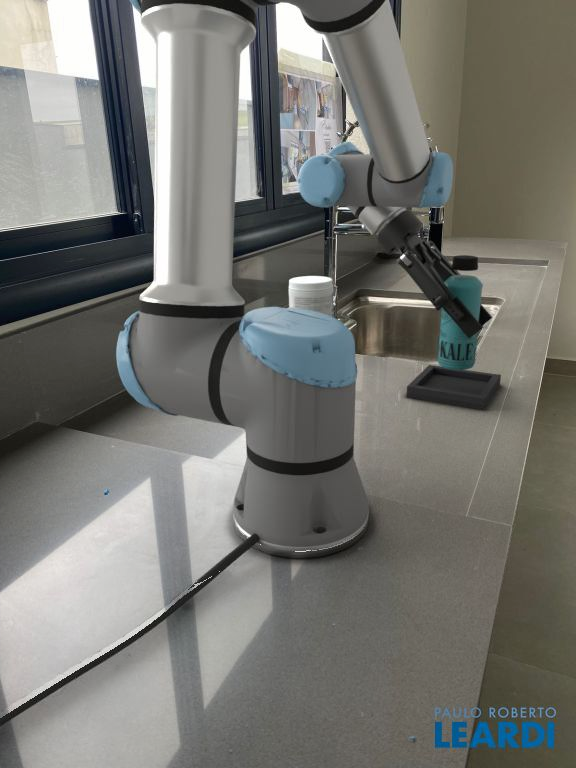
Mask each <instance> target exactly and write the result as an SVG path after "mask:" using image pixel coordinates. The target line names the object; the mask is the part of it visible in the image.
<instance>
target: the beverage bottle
mask: <svg viewBox="0 0 576 768" xmlns="http://www.w3.org/2000/svg"><path fill="white" fill-rule="evenodd" d="M451 264H452V269H453V270H457V271H458V272H472V271H477V270H478V269H479V257H478V256H475V255H468V254H467V255H466V254H459V255H454V256H453V257H452V263H451ZM444 283H445V285H446V286H447V288H448V289H449V291H450V292H451V294H452V295H453V297H454V298H455V297H458V299H459V300H460V301H461V302H462V303H463V304H464V306H465V307H466V308H467V309H468V310H469V311H470V313H471V314H472V315H473V316H474V317H475V318H476V320H477V321H478V322H479V313H480V303H481V302H482V293H483V287H484V283H482V281H481V280H480V279H479V278H478V277H477V276H474V275H468V274H461V275H453V276H451V277H449V278H448V279H447V280H446V281H445V282H444ZM454 298H453V299H454ZM453 299H452V300H453ZM481 304H482V303H481ZM439 317H440V325H439V326H440V328H439V330H438V335H439V336H438V343H437V344H438V347H437V354H436V355H437V356H436V359H437V363H438V366H441V367H444V368H448V369H455V370H469V369H472V368H474V367H475V364H476V362H477V353H478V352H477V347H478V344H479V343H478V338H479V331H478V332H477V333H476V334H474V335H473V336H472V337H471V338H468V337H467V336H466V335H465V333H464V332H463V331H462V330H461V329H460V328H459V326H458V325H457V324H456V323H455V322H454V321H453V319H452V318H451V317H450V316H449V315H448V314H447V312H446V311H445V310H444V309H443V308H441V309H440V316H439Z"/></svg>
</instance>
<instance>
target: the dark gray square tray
mask: <svg viewBox="0 0 576 768" xmlns="http://www.w3.org/2000/svg"><path fill="white" fill-rule="evenodd" d="M501 377H502V374H498V373H490V372H483V371H477V370H469V369H464V370H455V369H448V368H444V367H442V366H440V365H434V364H428V365H427V366H426V367H425V368H424V369H423V370H422V371H421V372H420V373H419V374H418V375H417V376H416V377H415V378H413V380H412V381H411V382H410V383H409V384H408V385H407V386H406V395H405V396H406V398H410V399H416V400H421V401H427V402H433V403H440V404H445V405H450V406H457V407H463V408H469V409H474V410H475V409H476V410H481V411H485V410H486V408H487V406H488V405H489V403H490V401H491V400H492V398H493V397H494V396H495V394H496V392H497V390H498V389H499V387H500V386H501V379H502V378H501Z"/></svg>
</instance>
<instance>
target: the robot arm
mask: <svg viewBox="0 0 576 768" xmlns="http://www.w3.org/2000/svg"><path fill="white" fill-rule="evenodd" d="M129 2H130V4H131V5H132V6H133V8H134V9H135V10H136V11H137V13H139V14H140V24H141V27H142V28H143V30H144V31H145V33H147V34H148V35H149V37H150V38H151V40H153V41H154V43H155V112H154V113H155V114H154V115H155V117H154V118H155V121H154V123H155V125H154V128H155V129H154V131H155V132H154V134H155V135H154V210H153V211H154V215H153V216H154V217H153V220H154V221H153V223H154V225H153V226H154V227H153V281H152V282H151V284H150V286H148V287H147V288H146V289H145V290H144V291H143V292H142V293H141V294H140V295H139V306H138V307H139V309H138V310H137V311H136V312H134V313H132V314H131V315H130V316H129V317H128V318H127V319H125V322H124V324H123V327H124V330H120V331H119V333H118V338H117V341H116V350H115V359H116V367H117V371H118V375H119V378H120V380H121V383H122V385H123V387H124V388H125V390H126V392H127V393H128V394H129V395H130V396H131V397H132V398H133V399H134V400H135V401H136V403H139V404H140V405H142V406H144V407H146V408H149V409H152V410H156V411H159V412H161V413H163V414H165V415H169V416H174V417H178V416H181V417H186V418H189V419H190V418H191V419H195V420H199V421H206V422H211V423H216V424H221V425H226V426H231V427H235V428H236V427H237V428H240V429H243V430H244V431H245V445H246V447H245V448H246V449H245V450H246V460H245V463H244V467H243V470H242V472H241V476H240V480H239V483H238V486H237V489H236V492H235V494H234V495H235V496H234V498H233V504H232V505H233V507H232V520H233V521H232V522H233V526H234V530H235V532H236V533H237V536H239V538H240V539H241V540H242V541H243V542H241V543H240V544H238V545H237V546H236V547H235V548H234V549H233V550H232V551H230V552H229V553H228V554H227V555H225V556H224V557H223V558H222V559H221V560H219V561H218V562H217V563H216V564H215V565H213V566H212V567H211V568H210V569H209V570H208V571H206V572H205V573H204V574H203V575H202V576H200V577H199V578H198V579H196V581H197V582H196V581H194V582H195V583H194V582H193V583H194V584H197V583H200V582H203V581H204V580H206V579H207V580H206V581H204V582H203V583H201V584H200V585H198V586H197V587H196V588H194V589H193V590H192V591H190V592H189V593H187V594H186V595H184V596H183V597H182V598H181V599H179V600H178V601H177V602H176V603H175V604H174V605H172V606H171V607H170V608H169V609H168V610H167V611H166V612H164V613H163V614H162V615H161V616H160V617H158V618H157V619H156V620H154V621H153V622H152V623H151V624H149V625H148V626H146V627H145V628H144V629H142V630H141V631H139V632H138V633H137V634H135V635H134V636H132V637H131V638H129V639H128V640H126V641H125V642H123V643H121V644H120V645H118V646H117V647H115V648H114V649H112V650H110V651H109V652H107V653H105V654H104V655H102V656H100V657H99V658H97V659H95V660H94V661H92V662H90V663H89V664H87V665H85V666H84V667H82V668H80V669H79V670H77V671H75V672H74V673H72V674H71V675H69V676H67V677H66V678H64V679H62V680H61V681H59V682H58V683H56V684H54V685H53V686H51V687H50V688H48V689H46V690H45V691H43V692H42V693H40V694H38V695H37V696H35V697H34V698H32V699H30V700H29V701H27V702H26V703H24V704H22V705H21V706H19V707H18V708H16V709H14V710H13V711H11V712H10V713H8V714H6V715H5V716H3V717H2V718H0V727H2V726H4V725H5V724H7V723H8V722H9V721H11V720H12V719H15V718H16V717H18V716H19V715H21V714H22V713H24V712H25V711H27V710H28V709H30V708H32V707H33V706H35V705H37V704H38V703H39V702H41V701H43V700H45V699H46V698H47V697H49V696H51V695H52V694H53V693H56V692H57V691H59V690H60V689H62V688H63V687H65V686H67V685H69V683H71V682H73V681H75V680H77V679H78V678H79V677H82V676H83V675H85V674H86V673H87V672H89V671H91V670H92V669H94V668H96V667H98V666H99V665H102V663H104V662H106V661H108V660H109V659H110V658H112V657H114V656H115V655H118V653H120V652H121V651H123V650H125V649H127V647H129V646H131V645H132V644H134V643H135V642H136V641H138V640H139V639H141V638H143V637H144V636H145V635H147V634H148V633H149V632H150V631H152V630H153V629H155V628H156V627H157V626H159V625H160V624H161V623H162V622H164V621H166V620H167V619H168V618H169V617H170V616H171V615H173V614H174V613H175V612H176V611H178V610H179V609H180V608H181V607H182V606H184V605H185V604H186V603H187V602H188V601H189V600H191V599H192V598H193V597H194V596H196V594H198V593H199V592H200V591H201V590H203V589H204V588H205V587H206V586H207V585H209V584H210V583H211V582H212V581H213V580H214V579H216V578H217V577H218V576H220V574H222V573H223V572H224V571H225V570H227V568H229V566H231V565H232V564H233V563H234V562H236V561H237V560H238V559H239V558H240V557H242V556H243V555H244V554H245V553H247V551H249V550H250V549H251V548H254V549H256V550H258V551H261V552H263V553H265V554H269V555H273V556H278V557H284V558H290V559H291V558H293V559H296V558H297V559H309V558H319V557H324V556H328V555H332V554H335V553H338V552H340V551H343V550H346V549H348V548H349V547H351V546H352V545H354V544H355V543H357V542H358V541H359V540H360V539H361V538H362V537H363V536H364V534H365V533H366V531H367V529H368V527H369V526H368V525H369V520H370V519H369V517H370V516H369V515H370V514H369V513H370V508H369V501H368V497H367V494H366V491H365V488H364V485H363V482H362V479H361V476H360V472H359V470H358V467H357V463H356V461H355V458H354V457H355V455H354V454H355V453H354V452H355V451H354V447H355V425H356V423H355V420H356V391H357V390H356V388H357V385H356V384H357V377H358V372H359V371H358V365H357V363H356V362H357V361H356V342H355V341H356V340H355V337H354V335H353V333H352V331H351V330H350V328H349V327H348V326H346V325H345V324H344V322H342V321H341V320H339V319H337V318H335V317H334V316H333V317H331V316H329V315H326V314H323V313H320V312H316V311H312V310H307V309H301V308H293V307H289V306H288V307H280V306H265V307H259V308H255V309H251V310H250V311H248V312H246V313H245V304H246V302H245V299H244V298H243V297H242V295H240V294H239V292H238V291H237V290H236V289H235V287H234V286H233V266H234V264H233V263H234V241H235V239H234V237H235V214H236V213H235V211H236V210H235V209H236V183H237V156H238V152H237V151H238V133H239V132H238V131H239V130H238V127H239V101H240V76H241V54H242V52H243V51H244V50H245V49H246V48H247V47H249V45H250V44H251V43H253V42H254V40H255V39H256V36H257V17H258V15H257V14H258V9H259V8H260V7H267V6H273V5H278V4H281V3H282V4H283V3H284V4H286V3H287V4H290V5H293V6H295V7H296V8H298V9H299V10H300V14H301V16H302V18H303V20H304V22H305V24H306V25H307V27H308V28H309V29H310V30H311V31H313V32H315V33H316V34H320V35H321V37H322V39H323V41H324V44H325V46H326V48H327V51H328V53H329V56H330V58H331V60H332V63H333V66H334V68H335V70H336V72H337V75H338V77H339V80H340V82H341V85H342V87H343V89H344V92H345V94H346V96H347V99H348V101H349V104H350V107H351V109H352V111H353V114H354V116H355V118H356V121H357V124H358V126H359V129H360V130H361V132H362V136H363V138H364V140H365V143H366V145H367V148H368V150H369V152H370V153H369V154H368V153H367V154H366V153H364V152H362V151H361V150H360V149H359V148H358V147H357V146H356V145H355V144H354V143H352V142H351V141H343V142H341V143H339V144H337V145H335V146H334V147H333V148H332V149H330V150H329V151H328V153H321V154H316V155H313V156H311V157H309V158H308V159H307V160H305V161H304V162H303V164H302V165H301V166H300V168H299V172H298V175H297V187H298V191H299V194H300V196H301V197H302V199H303V200H304V202H306V203H308V204H309V205H311V206H314V207H319V208H331V207H347V209H348V210H349V211H350V212H351V213H352V214H353V215H354V217H355V218H356V219H357V220H358V221H359V222H360V224H362V225H361V228H362V230H364V231H366V230H367V232H368V233H369V234H370V235H371V236H372V237H375V240H376V243H377V244H378V245H379V246H380V247H381V248H382V250H383V251H384V252H385V253H386V254H387V255H394V254H395V253H396V252H397V253H399V255H400V257H399V258H397V260H396V262H397V264H398V266H400V267H401V268H402V269H403V270H404V271H405V272H406V273H407V274H408V275H409V277H410V278H411V280H412V281H413V282H414V283H415V284H416V286H417V287H418V288H419V290H420V291H421V292H422V293H423V295H425V297H426V298H427V299H428V300H429V302H430V303H431V304H432V306H434V309H435V310H436V311H437V312H438V311H441V308H443V309H444V310H445V311H446V312H447V314H448V315H449V316H450V317H451V318H452V319H453V321H454V322H455V323H456V324H457V325H458V326H459V328H460V329H461V330H462V331H463V332H464V333H465V335H466V336H467V337H468V338H471V337H472V336H473V335H474V334H476V333H477V332H478V333H479V332H480V331H481V330H482V329H483V328H484V325H486V323H488V322H489V321H490V320H491V319H493V318H494V317H493V316H492V315H491V314H490V312H489V311H487V309H486V308H485V307H484V306H483V304H482V303H480V313H479V322H478V321H477V320H476V318H475V317H474V316H473V315H472V314H471V313H470V311H469V310H468V309H467V308H466V307H465V306H464V304H463V303H462V302H461V301H460V300H459V299H458V297H455V298H454V297H453V295H452V294H451V292H450V291H449V289H448V288H447V286H446V285H445V283H444V282H445V281H446V280H447V279H448V278H449V277H451V276H453V275H462V274H461V273H460V271H459V270H453V269H452V263H451V262H450V261H449V260H448V259H447V258H446V256H444V255H443V253H442V252H441V251H440V250H439V248H438V247H437V246H436V244H435V243H434V241H432V240H429V241H427V240H423V238H421V237H420V236H419V234H418V233H419V232H421V230H422V228H423V222H422V220H420V218H419V217H418V216H417V215H416V214H415V213H414V212H413V210H412V209H407V208H417V209H422V208H439V207H442V206H444V205H445V204H447V202H448V201H449V199H450V195H451V194H452V193H451V192H452V188H453V180H454V165H453V160H452V157H451V155H450V154H448V153H446V152H438V151H436V150H435V151H434V150H433V151H431V150H430V146H429V143H428V139H427V136H426V132H425V127H424V124H423V120H422V116H421V112H420V110H419V105H418V102H417V99H416V95H415V91H414V87H413V83H412V80H411V77H410V73H409V68H408V64H407V61H406V57H405V54H404V51H403V46H402V43H401V39H400V36H399V32H398V29H397V25H396V21H395V16H394V14H393V10H392V6H391V3H390V0H129ZM453 298H454V299H453ZM452 299H453V300H452ZM234 522H235V523H234ZM366 523H367V524H366ZM235 524H236V525H235ZM365 525H366V526H365ZM236 526H237V527H236ZM364 526H365V527H364ZM363 528H364V529H363ZM362 529H363V530H362ZM239 530H240V531H241V532H242V533H243V534H244V535H243V534H242V533H241V532H240V531H239ZM361 530H362V531H361ZM360 531H361V532H360ZM359 532H360V533H359ZM358 533H359V534H358ZM357 534H358V535H357ZM355 535H357V536H355ZM353 536H355V537H354V538H353V539H351V540H349V541H347V542H345V543H343V541H346V540H348V539H350V538H352V537H353ZM247 537H248V538H247ZM340 543H343V544H341V545H338V546H335V547H332V546H334V545H337V544H340ZM260 544H261V545H260ZM330 546H331V547H332V548H328V547H330ZM323 548H328V549H323ZM319 549H323V550H319ZM306 550H311V551H306ZM312 550H317V551H312ZM295 551H306V552H295ZM219 571H220V572H219ZM211 576H212V577H211ZM209 577H211V578H209ZM208 578H209V579H208ZM193 583H192V584H193ZM192 584H191V585H192ZM194 584H193V585H192V586H191V585H190V586H191V587H190V588H192V587H194V586H195V585H194ZM190 588H189V589H190ZM189 589H188V590H189ZM180 594H181V593H179V594H178V595H177V596H179V595H180ZM174 599H175V598H173V599H172V600H174Z"/></svg>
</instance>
